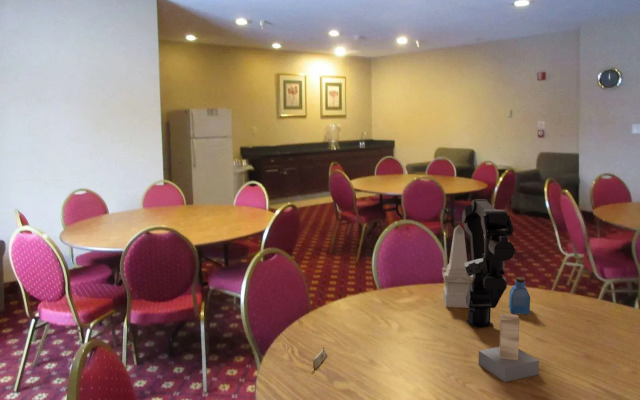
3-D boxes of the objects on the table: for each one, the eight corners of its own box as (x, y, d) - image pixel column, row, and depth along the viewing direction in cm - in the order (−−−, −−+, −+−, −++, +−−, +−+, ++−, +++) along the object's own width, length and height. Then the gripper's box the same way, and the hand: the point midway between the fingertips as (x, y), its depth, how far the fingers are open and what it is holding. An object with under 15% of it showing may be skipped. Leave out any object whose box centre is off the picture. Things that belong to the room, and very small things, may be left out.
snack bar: (315, 370, 145) (315, 360, 145) (310, 370, 146) (310, 360, 145) (327, 356, 154) (327, 346, 153) (323, 355, 154) (322, 346, 154)
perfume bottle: (527, 308, 189) (528, 276, 187) (529, 314, 183) (530, 281, 181) (509, 307, 191) (510, 275, 189) (510, 313, 185) (512, 280, 183)
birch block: (499, 351, 145) (500, 313, 144) (516, 352, 144) (517, 314, 143) (500, 358, 141) (501, 319, 140) (518, 360, 140) (519, 320, 138)
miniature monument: (441, 297, 202) (443, 221, 197) (469, 298, 200) (471, 221, 196) (444, 307, 192) (445, 227, 187) (473, 308, 190) (476, 227, 186)
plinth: (510, 357, 150) (511, 344, 150) (538, 374, 140) (539, 360, 140) (478, 364, 147) (478, 350, 146) (504, 382, 136) (505, 367, 136)
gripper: (466, 243, 167) (465, 290, 170) (466, 258, 150) (465, 310, 152) (502, 245, 164) (501, 293, 167) (507, 260, 147) (505, 313, 149)
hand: (492, 302), depth 159 cm, fingers open, 9 cm apart
